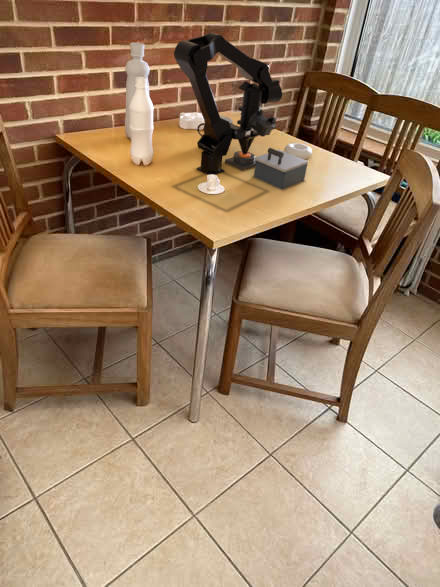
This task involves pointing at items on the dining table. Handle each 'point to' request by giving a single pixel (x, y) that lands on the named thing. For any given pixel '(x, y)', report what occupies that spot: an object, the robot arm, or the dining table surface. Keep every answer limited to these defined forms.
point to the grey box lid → (281, 160)
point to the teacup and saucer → (211, 185)
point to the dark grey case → (279, 175)
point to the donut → (298, 150)
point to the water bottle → (141, 124)
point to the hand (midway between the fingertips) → (244, 154)
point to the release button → (244, 155)
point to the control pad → (241, 161)
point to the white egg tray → (191, 120)
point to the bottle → (134, 78)
